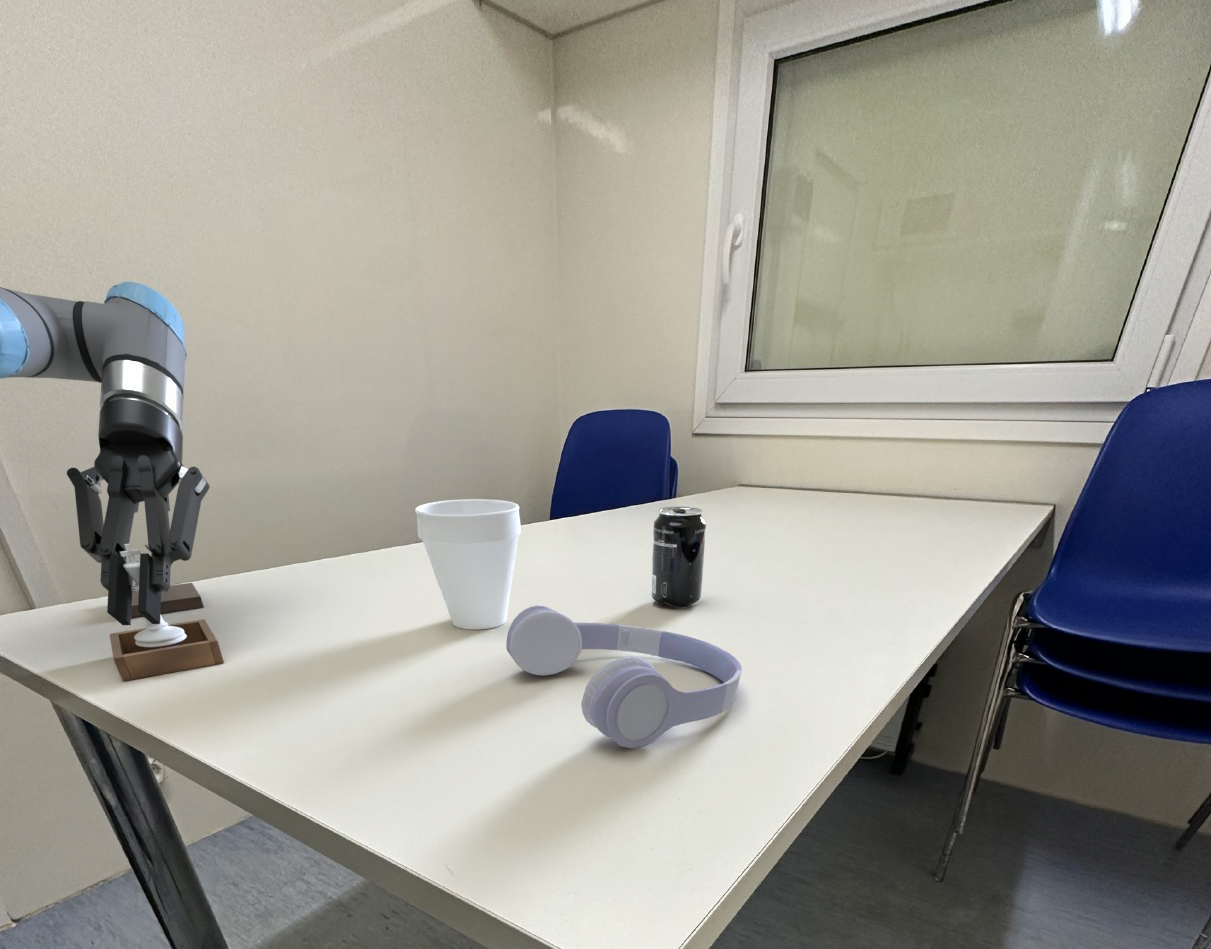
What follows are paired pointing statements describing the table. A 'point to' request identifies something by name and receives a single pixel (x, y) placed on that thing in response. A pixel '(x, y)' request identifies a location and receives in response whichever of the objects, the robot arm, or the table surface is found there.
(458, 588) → the cup
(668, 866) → the table surface
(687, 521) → the beverage can
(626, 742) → the headphones
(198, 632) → the oak box
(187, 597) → the walnut stand
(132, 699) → the table surface
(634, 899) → the table surface
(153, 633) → the chess piece
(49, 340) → the robot arm
